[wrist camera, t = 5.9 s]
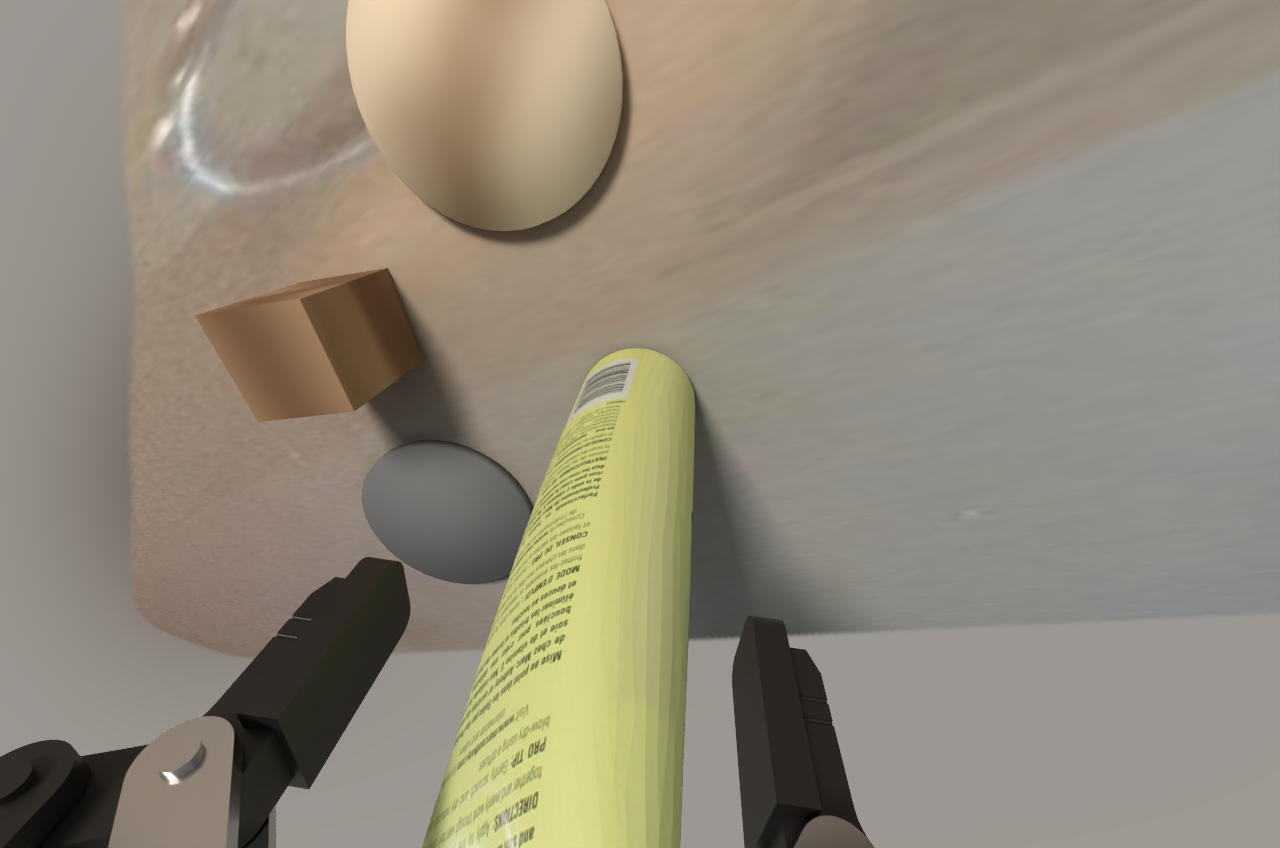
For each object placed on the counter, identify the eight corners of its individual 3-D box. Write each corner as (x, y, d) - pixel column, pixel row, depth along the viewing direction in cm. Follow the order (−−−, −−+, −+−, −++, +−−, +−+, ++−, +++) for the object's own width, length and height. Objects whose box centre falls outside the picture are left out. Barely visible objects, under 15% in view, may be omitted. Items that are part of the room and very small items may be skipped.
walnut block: (387, 267, 20) (299, 299, 15) (424, 360, 22) (354, 411, 17) (303, 281, 20) (195, 315, 16) (345, 370, 22) (258, 421, 18)
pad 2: (535, 454, 23) (531, 461, 23) (536, 586, 28) (533, 595, 27) (354, 428, 24) (346, 434, 23) (383, 562, 28) (377, 570, 27)
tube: (700, 456, 22) (704, 1416, 5) (593, 461, 23) (295, 1314, 6) (692, 338, 20) (650, 1500, 3) (571, 347, 20) (-63, 1297, 3)
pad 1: (636, -89, 14) (633, -99, 13) (612, 242, 18) (610, 245, 18) (332, -118, 14) (318, -129, 14) (381, 213, 19) (371, 215, 18)
